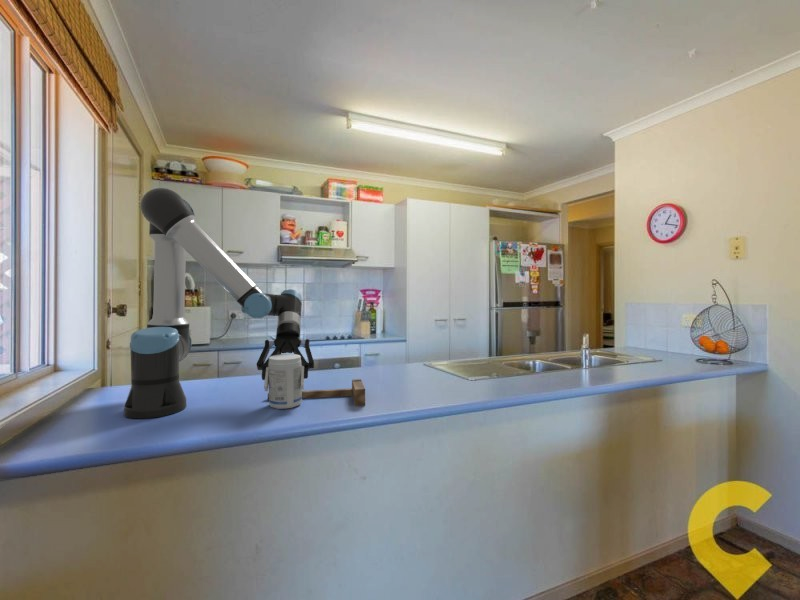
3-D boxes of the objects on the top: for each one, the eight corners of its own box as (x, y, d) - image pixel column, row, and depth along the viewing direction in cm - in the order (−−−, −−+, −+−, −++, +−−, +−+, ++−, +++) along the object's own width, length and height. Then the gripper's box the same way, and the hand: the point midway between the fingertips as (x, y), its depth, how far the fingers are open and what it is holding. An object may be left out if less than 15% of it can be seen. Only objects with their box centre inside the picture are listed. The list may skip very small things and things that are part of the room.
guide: (262, 411, 110) (262, 394, 109) (268, 398, 122) (268, 383, 122) (366, 405, 115) (366, 388, 115) (362, 393, 128) (362, 379, 128)
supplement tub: (294, 398, 122) (294, 352, 122) (307, 405, 115) (307, 356, 115) (263, 404, 116) (263, 355, 116) (275, 412, 109) (275, 360, 108)
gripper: (322, 334, 132) (322, 392, 117) (254, 336, 128) (245, 396, 113) (322, 320, 127) (322, 379, 112) (252, 321, 122) (242, 382, 107)
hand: (284, 388), depth 112 cm, fingers closed on supplement tub, 9 cm apart
